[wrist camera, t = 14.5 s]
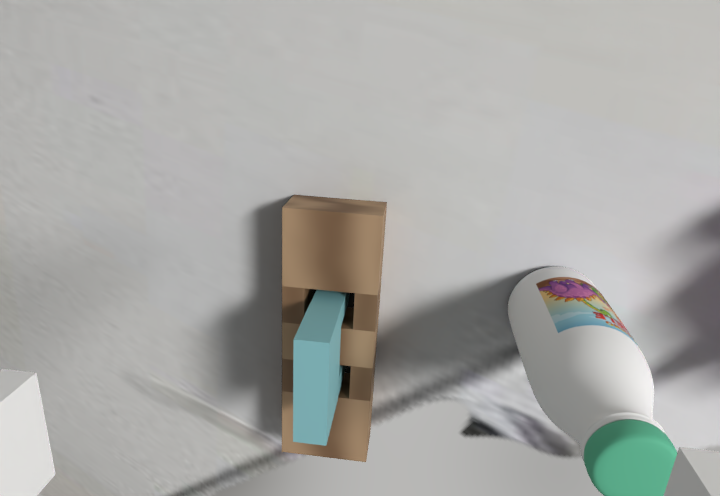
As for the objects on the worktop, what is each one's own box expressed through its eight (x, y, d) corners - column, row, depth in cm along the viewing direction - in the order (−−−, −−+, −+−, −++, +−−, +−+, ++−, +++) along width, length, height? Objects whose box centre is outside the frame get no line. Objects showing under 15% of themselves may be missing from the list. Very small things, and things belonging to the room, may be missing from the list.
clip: (319, 363, 51) (292, 441, 41) (321, 278, 48) (293, 339, 38) (346, 366, 51) (326, 445, 41) (349, 280, 48) (329, 343, 38)
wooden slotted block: (291, 423, 54) (281, 451, 50) (293, 194, 46) (282, 207, 42) (369, 433, 53) (365, 462, 50) (386, 202, 45) (383, 215, 41)
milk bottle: (552, 358, 48) (633, 552, 30) (487, 309, 47) (529, 476, 29) (617, 299, 46) (751, 471, 27) (550, 246, 45) (640, 385, 26)
